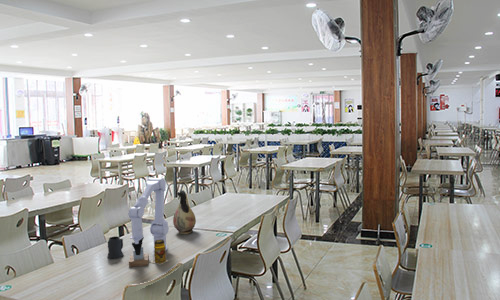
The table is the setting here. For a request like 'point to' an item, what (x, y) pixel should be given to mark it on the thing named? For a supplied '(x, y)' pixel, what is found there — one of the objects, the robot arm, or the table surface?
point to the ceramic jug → (184, 216)
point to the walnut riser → (139, 261)
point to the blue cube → (138, 255)
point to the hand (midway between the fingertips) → (138, 252)
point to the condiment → (159, 252)
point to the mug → (115, 248)
